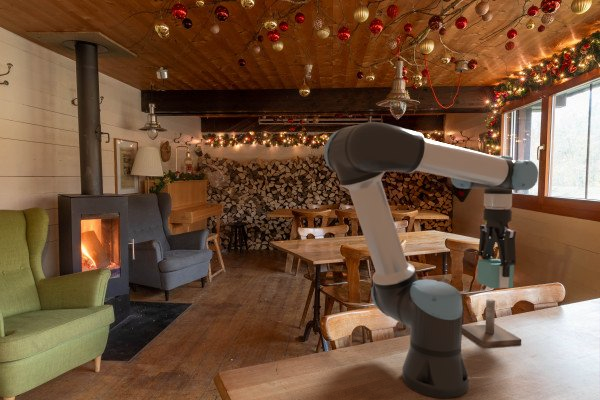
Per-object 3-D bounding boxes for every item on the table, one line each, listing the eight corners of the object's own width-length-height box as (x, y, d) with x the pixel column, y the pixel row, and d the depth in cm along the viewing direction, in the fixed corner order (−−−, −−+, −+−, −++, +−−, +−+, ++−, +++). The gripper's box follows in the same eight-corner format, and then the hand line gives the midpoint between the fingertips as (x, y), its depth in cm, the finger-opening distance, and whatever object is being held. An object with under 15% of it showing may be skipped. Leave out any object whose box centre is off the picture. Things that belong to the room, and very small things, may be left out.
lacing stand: (483, 347, 113) (484, 308, 112) (460, 330, 125) (461, 295, 124) (521, 344, 115) (522, 305, 114) (494, 328, 127) (495, 293, 126)
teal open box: (491, 288, 114) (491, 264, 114) (477, 282, 121) (477, 259, 121) (513, 287, 115) (514, 264, 115) (498, 281, 122) (498, 259, 122)
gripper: (533, 210, 107) (530, 293, 109) (488, 205, 127) (486, 275, 128) (508, 211, 106) (505, 294, 108) (467, 205, 126) (465, 275, 127)
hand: (495, 283), depth 118 cm, fingers closed on teal open box, 7 cm apart
